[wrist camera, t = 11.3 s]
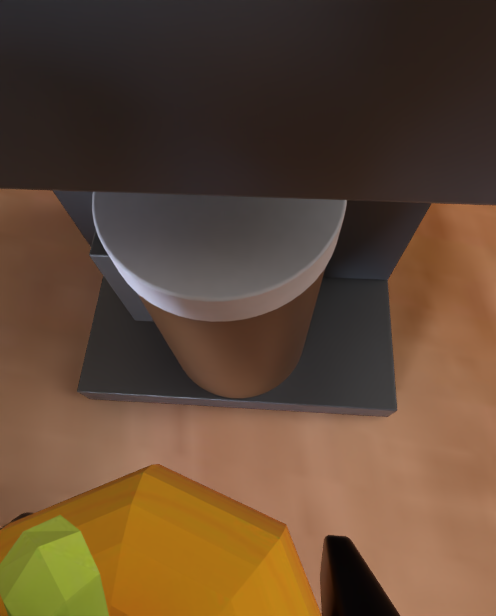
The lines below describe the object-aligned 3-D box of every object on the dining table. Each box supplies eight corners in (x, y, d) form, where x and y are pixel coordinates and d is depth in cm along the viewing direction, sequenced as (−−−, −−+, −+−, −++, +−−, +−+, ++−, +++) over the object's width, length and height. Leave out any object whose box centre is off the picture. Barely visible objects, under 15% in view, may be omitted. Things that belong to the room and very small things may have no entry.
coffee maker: (388, 423, 18) (1129, -25, 3) (87, 404, 19) (-721, -35, 3) (374, 205, 23) (617, -430, 7) (132, 197, 23) (-124, -399, 8)
